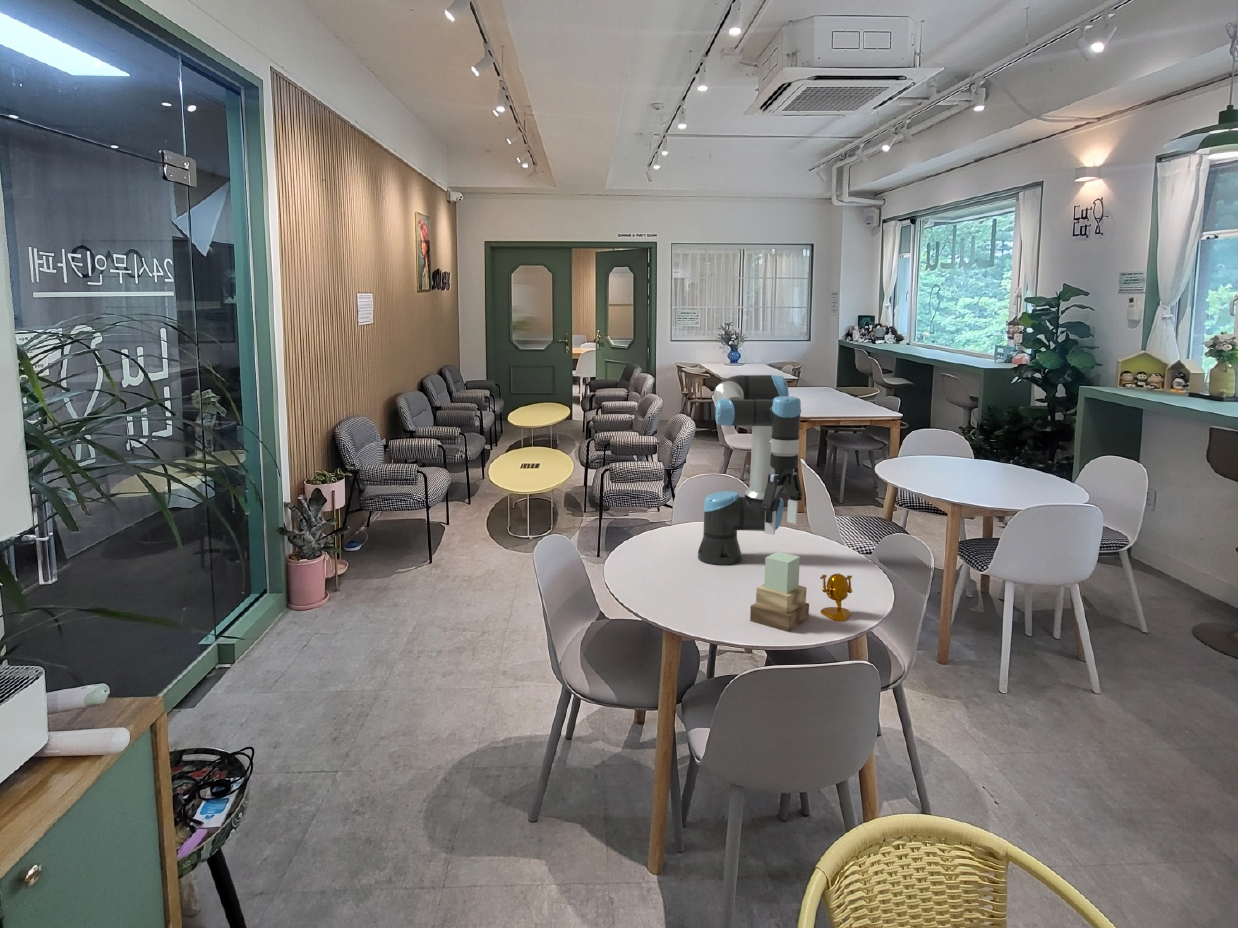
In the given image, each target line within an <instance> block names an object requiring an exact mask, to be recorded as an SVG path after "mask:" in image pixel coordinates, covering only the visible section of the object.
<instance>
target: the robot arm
mask: <svg viewBox="0 0 1238 928" xmlns="http://www.w3.org/2000/svg"><path fill="white" fill-rule="evenodd" d="M713 400H714V403H715V422H716V424H717V426H718V425H719V426H726V427H732V426H733V427H735V426H737V427H738V426H740V427H741V426H742V427H744V426H745V427H746V426H748V427H749V426H750V427H751V426H752V429H751V452H750V470H749V473H750V476H749V487H748V488H747V489H746V490H745V491H744V496H740V495H739V493H738V492H737V491H730V490H729V491H727V490H726V491H725V490H724V491H718V492H717V491H716V492H713V493H711V494H708V495H707V496H705V499H704V503H703V504H704V506H703V532H702V533H703V535H702V536H703V537H702V538H701V539H702V540H701V542H700V545H699V547H698V551H697V558H698V560H699V561H701V562H703V563H705V564H708V565H709V564H710V565H716V566H725V565H734V564H737V563H739V562H741V561H742V551H741V550H742V549H741V547H740V544H739V539H738V531H753V532H764V534H768V535H772V536H774V535H775V534H776V531H777V530H778V529H779V527H781V524H782V519H783V514H784V499H783V498H782V497H781V496H780V495H781V493H782V491H784V490H786V493H787V494H788V495H787V496H788V497H789V499H788V500H787V513H786V515H787V516H786V523H790V524H794V525H795V524H796V525H797V523H798V511H799V509H798V506H799V501H802V499H803V491H802V485H801V480H800V477H799V476H800V475H799V455H798V453H799V452H800V427H801V426H800V425H801V413H802V408H801V407H802V405H801V404H802V403H801V399H800V398H799V397H795V396H790V393H789V387H788V383H787V379H786V378H785V377H784V376H782V375H772V374H752V375H751V374H749V375H746V374H738V375H733V376H730V377H727V378H725V379H723V380H722V381H720V382H719V383H718V384H717V385H716V386H715V388H714V390H713Z"/></svg>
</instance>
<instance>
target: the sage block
mask: <svg viewBox="0 0 1238 928" xmlns="http://www.w3.org/2000/svg"><path fill="white" fill-rule="evenodd" d="M764 560H765V563H764V584H763V585H764V588H766V589H769V590H773V591H777V592H781V593H785V594H787V593H789V592H791V591H793V590H794V589H796V588H798V585H800V584H799V583H800V567H801V565H800V564H801V563H800V562H801V556H798V555H794V554H791V553H785V552H781V551H776V552H774V553H772V554H770V555H768V556H766V557H765V559H764Z"/></svg>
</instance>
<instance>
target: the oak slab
mask: <svg viewBox="0 0 1238 928" xmlns="http://www.w3.org/2000/svg"><path fill="white" fill-rule="evenodd" d="M755 593H756V595H755V597H756V598H755V603H756V605H759V606H763V607H766V608H769V609H772V610H776V611H779V612H782V613H785V614H787V613H789V612H791V611H793V610H795V609H797V608H799V607H801V606H803V605H805V604H806V603H807V602H806V601H807V587H806V586H803V585H800V584H799V585H798V588H796V589H794V590H793V591H791V592H789V593H787V594H785V593H781V592H777V591H773V590H769V589H766V588H764V584H762V585H759V586H757V587H756V591H755Z"/></svg>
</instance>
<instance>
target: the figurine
mask: <svg viewBox="0 0 1238 928" xmlns="http://www.w3.org/2000/svg"><path fill="white" fill-rule="evenodd" d="M819 578H820V580H822V581H823V582H822V589H821V591H822V593H824V594H826V596H827V597H828V599H830V600H832V601H835V604H836V606H837V607H836V606H827V607H823V608H822V609H820V614H822V615H823V616H825V617H826V618H828V619H829V620H832V621H833V622H846V621H847V620H848V619H849V618H850V617H851V615H852V614H851V613H852V611H850V610H849V609H847V608H845V607H842V601H844V600H846V599H847V598H848V595H849V594H852V593H853V590H852V581H851V579H852V578H853V576H852V575H849V574H848V575H847V576H845V575H844V574H841V573H833V574H832V575H830V576H829V578H828V579H827V574H822V575H821V576H820V577H819ZM826 579H827V581H826Z"/></svg>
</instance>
